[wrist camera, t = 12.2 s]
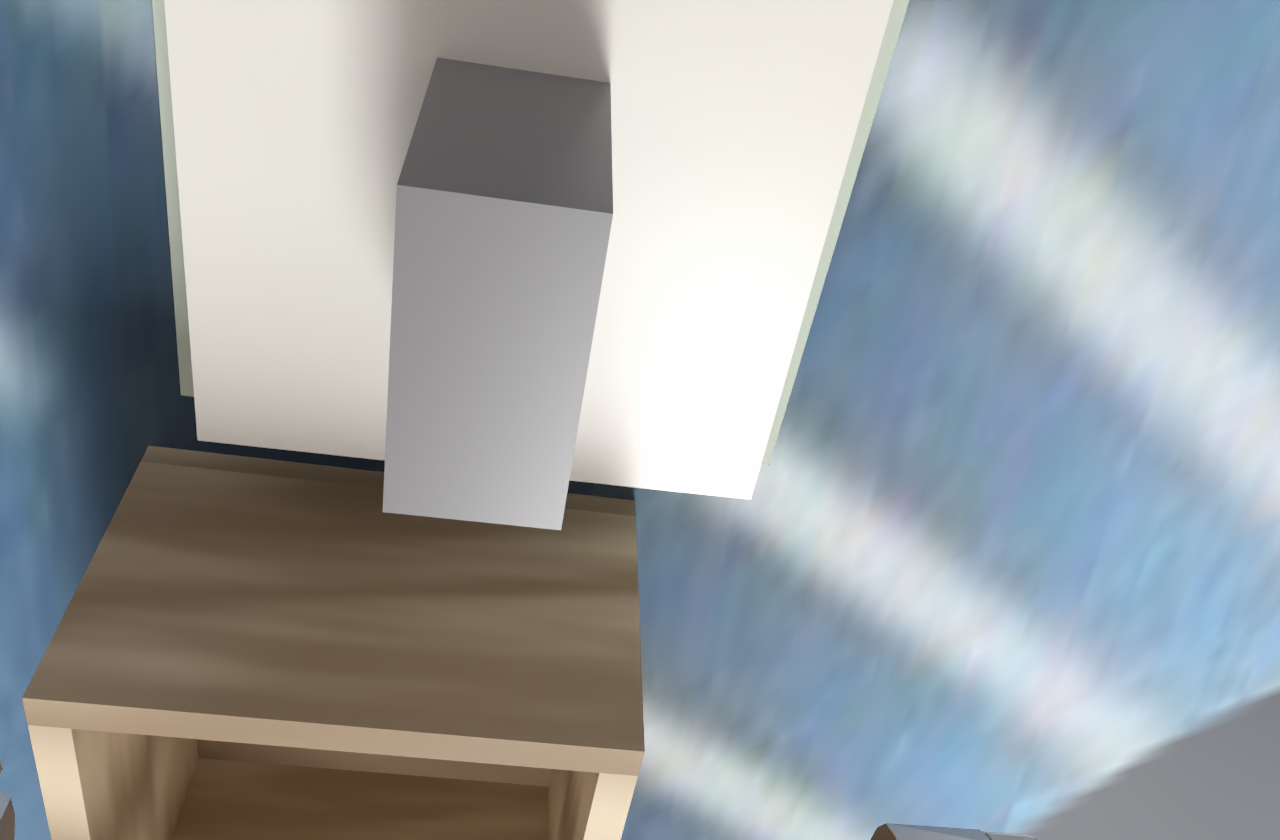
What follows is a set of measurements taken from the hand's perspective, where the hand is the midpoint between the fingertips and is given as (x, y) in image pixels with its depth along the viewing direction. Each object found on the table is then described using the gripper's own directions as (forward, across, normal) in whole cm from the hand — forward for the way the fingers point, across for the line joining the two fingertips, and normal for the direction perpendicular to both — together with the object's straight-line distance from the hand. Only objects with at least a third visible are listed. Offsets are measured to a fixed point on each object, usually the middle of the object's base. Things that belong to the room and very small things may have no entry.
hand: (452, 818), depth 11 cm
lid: (+16, 0, +1) cm, 16 cm away
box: (+16, +2, +16) cm, 23 cm away
